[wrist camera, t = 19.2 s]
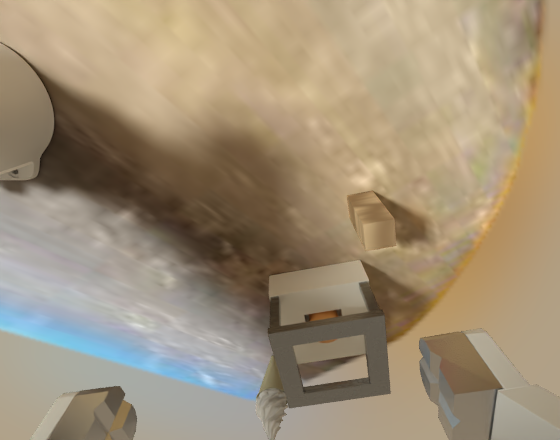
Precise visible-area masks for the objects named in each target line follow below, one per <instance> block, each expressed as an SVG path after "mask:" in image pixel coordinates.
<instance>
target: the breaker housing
mask: <svg viewBox="0 0 560 440" xmlns="http://www.w3.org/2000/svg"><path fill="white" fill-rule="evenodd" d="M365 281H368V284H369V279H368V277H367V274H366V272H365V270H364V268H363V265H362V263H361V261H360V260H356V261H351V262H345V263H339V264H333V265H328V266H322V267H316V268H311V269H305V270H299V271H293V272H288V273H282V274H276V275H271V276H269V300H270V298H271V297H277V296H279V299H280V305H281V326H284V325H290V324H296V323H302V322H309V315H308V314H313V313H319V312H326V311H332V310H337V314H338V317H339V316H345V315H351V314H358V313H364V312H368V310H367V308H366V305H365V303H364V300H363V297H362V295H361V292H360V289H359V282H365ZM293 348H294V352H295V356H296V360H297V364H303V363H310V362H316V361H323V360H329V359H336V358H342V357H349V356H355V355H362V354H366V350H365V341H364V335H358V336H351V337H345V338H339V339H337V340H335V341H333V342H330V343H320V342H314V343H307V344H301V345H295V346H293Z"/></svg>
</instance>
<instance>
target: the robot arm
mask: <svg viewBox="0 0 560 440" xmlns="http://www.w3.org/2000/svg"><path fill="white" fill-rule="evenodd" d="M53 130H54V113H53V108H52V104H51V100H50V98H49V95H48V93H47V91H46V89H45V87H44V85H43V83H42V82H41V80H40V78H39V77H38V76H37V74H36V73H35V72H34V70H33V69H32V68H31V67H30V66H29V65H28V64H27V63H26V62H25V61H24V60H23V59H22V58H21V57H20V56H19V55H18V54H16V53H15V52H14V51H12V50H11V49H9V48H8V47H6V46H5V45H3V44H1V43H0V180H29V179H33V178H35V177H36V176H37V175H38V172H39V166H40V157H41V155H42V153H43V152H44V150H45V149H46V148H47V146H48V144H49V143H50V141H51V138H52V135H53ZM16 169H17V170H18V172H17V171H16ZM419 349H420V351H421V353H422V355H423V358H422V359H421V360H420V372H421V377H422V381H423V384H424V386H425V389H426V392H427V394H428V396H429V398H430V400H431V401H432V402H434V403H435V404H436V405H438V409H439V410H438V412H439V413H438V416H439V417H438V418H439V420H440V422H441V424H442V426H443V428H444V430H445V432H446V435H447V437H448V439H449V440H560V397H559V396H557V395H555V394H553V393H551V392H550V391H548V390H546V389H544V388H542V387H541V386H539V385H529V383H528V382H527V381H526V380H525V379H524V377H523V376H522V375H521V374H520V372H519V371H518V370H517V369H516V367H515V366H514V365H513V364H512V362H511V361H510V360H509V359H508V358H507V356H506V355H505V354H504V353H503V351H502V350H501V349H500V348H499V347H498V345H497V344H496V343H495V341H494V340H493V339H492V338H491V337H490V335H489V334H488V333H487V332H486V331H485V330H483V329H482V328H480V329H474V330H468V331H461V332H453V333H447V334H441V335H436V336H430V337H424V338H421V339H420V341H419ZM124 396H125V393H124V391H123V390H122V388H121V387H120V386H114V387H106V388H98V389H90V390H82V391H76V392H69V393H64V394H62V395H61V396H60V397H58V398H57V400H56V401H55V403H54V404H53V406H52V407H51V409H50V410H49V412H48V413H47V415H46V416H45V418H44V419H43V421H42V422H41V424H40V425H39V427H38V428H37V430H36V431H35V433H34V434H33V436H32V437H31V439H30V440H133V437H134V434H135V432H136V423H137V416H136V412H135V409H134V407H133V406H132V404H130V403H128V402H126V401H124V400H123V399H124Z"/></svg>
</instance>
